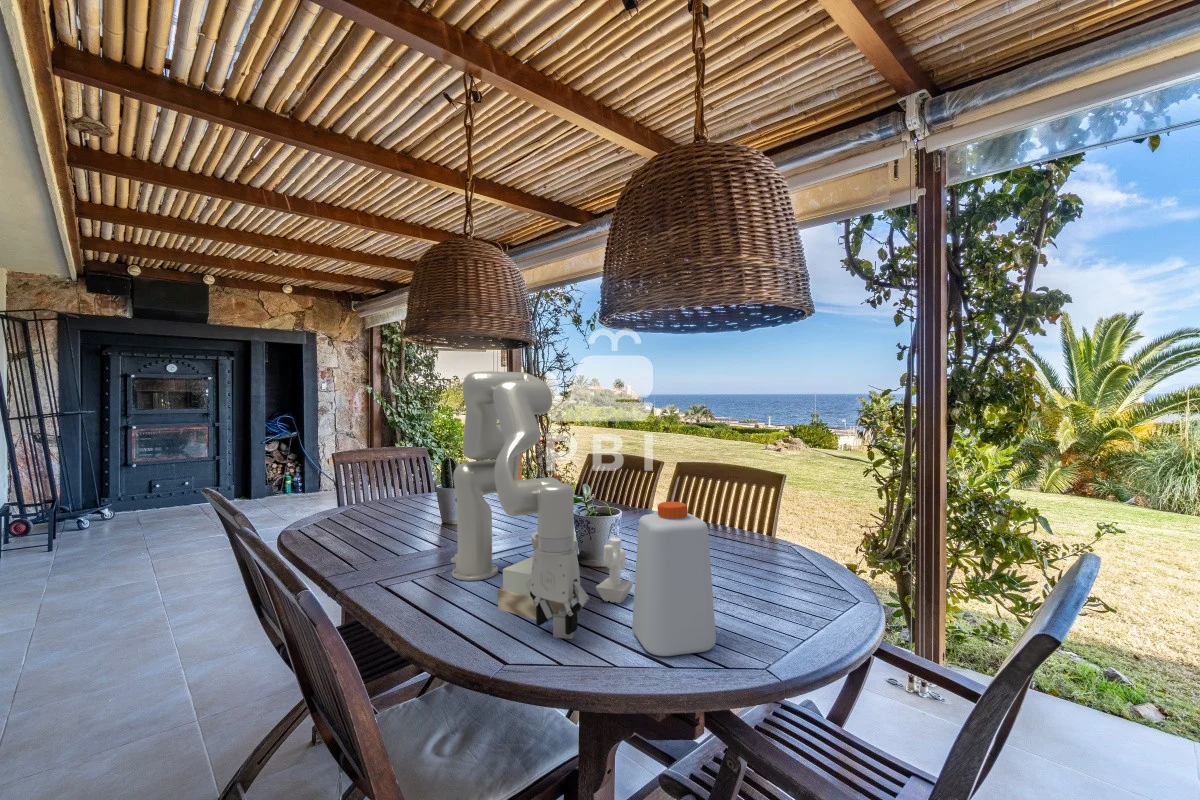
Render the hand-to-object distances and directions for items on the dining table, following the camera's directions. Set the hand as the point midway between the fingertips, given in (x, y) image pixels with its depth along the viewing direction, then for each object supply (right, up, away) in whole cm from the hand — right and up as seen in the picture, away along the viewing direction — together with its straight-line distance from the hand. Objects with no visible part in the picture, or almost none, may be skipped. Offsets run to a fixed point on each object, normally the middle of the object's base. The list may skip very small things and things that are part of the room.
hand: (556, 627), depth 116 cm
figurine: (+13, -2, +20) cm, 24 cm away
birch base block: (-6, -2, +16) cm, 18 cm away
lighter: (0, -2, 0) cm, 2 cm away
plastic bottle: (+24, -2, -2) cm, 24 cm away
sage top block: (-6, +3, +16) cm, 17 cm away
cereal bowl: (-4, -1, +55) cm, 55 cm away
